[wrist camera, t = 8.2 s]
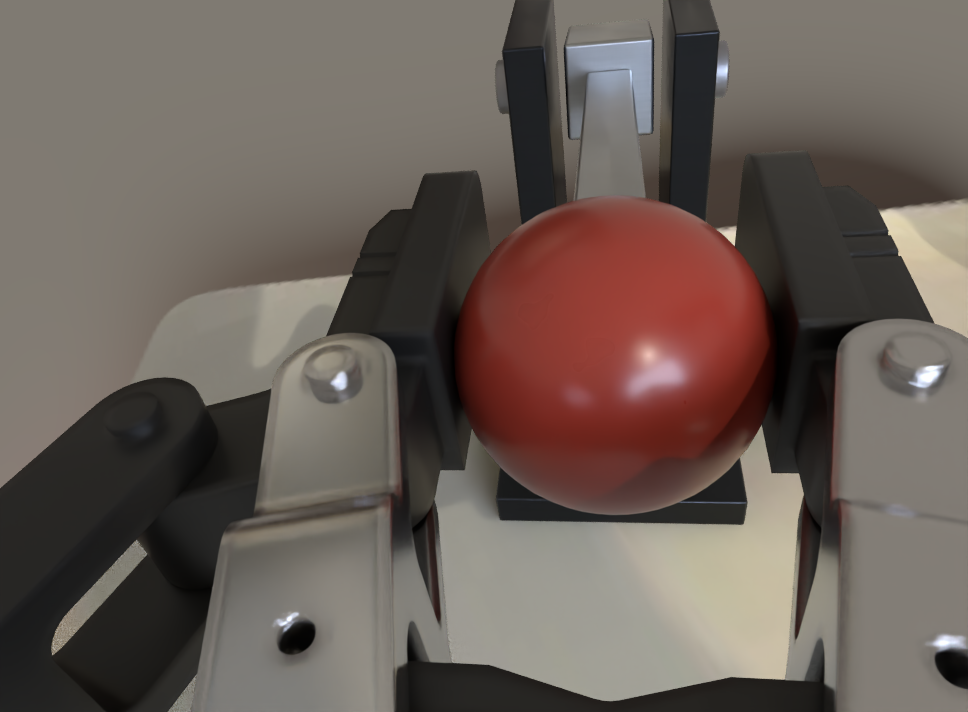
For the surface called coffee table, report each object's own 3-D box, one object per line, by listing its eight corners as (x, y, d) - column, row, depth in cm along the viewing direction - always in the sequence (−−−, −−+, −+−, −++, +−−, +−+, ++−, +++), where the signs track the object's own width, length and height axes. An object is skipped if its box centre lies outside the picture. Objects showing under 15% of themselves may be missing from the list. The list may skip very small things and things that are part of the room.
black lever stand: (744, 525, 25) (815, 74, 15) (499, 521, 26) (418, 105, 16) (712, 326, 32) (746, -63, 22) (522, 331, 33) (476, -34, 24)
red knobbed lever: (790, 591, 8) (837, 277, 6) (450, 580, 9) (397, 294, 7) (673, 126, 22) (676, -9, 20) (550, 135, 23) (541, 4, 21)
